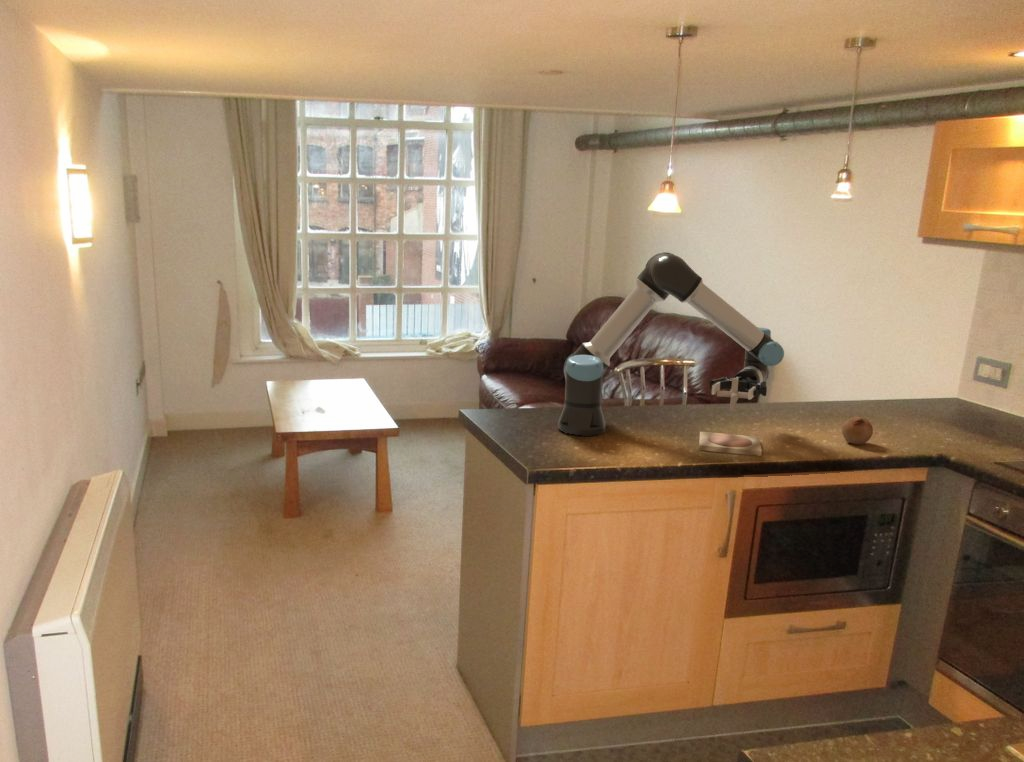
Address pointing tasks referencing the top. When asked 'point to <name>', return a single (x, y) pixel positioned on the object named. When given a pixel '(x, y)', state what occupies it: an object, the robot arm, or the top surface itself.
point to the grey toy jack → (733, 394)
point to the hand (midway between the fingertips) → (731, 392)
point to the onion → (857, 430)
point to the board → (730, 443)
